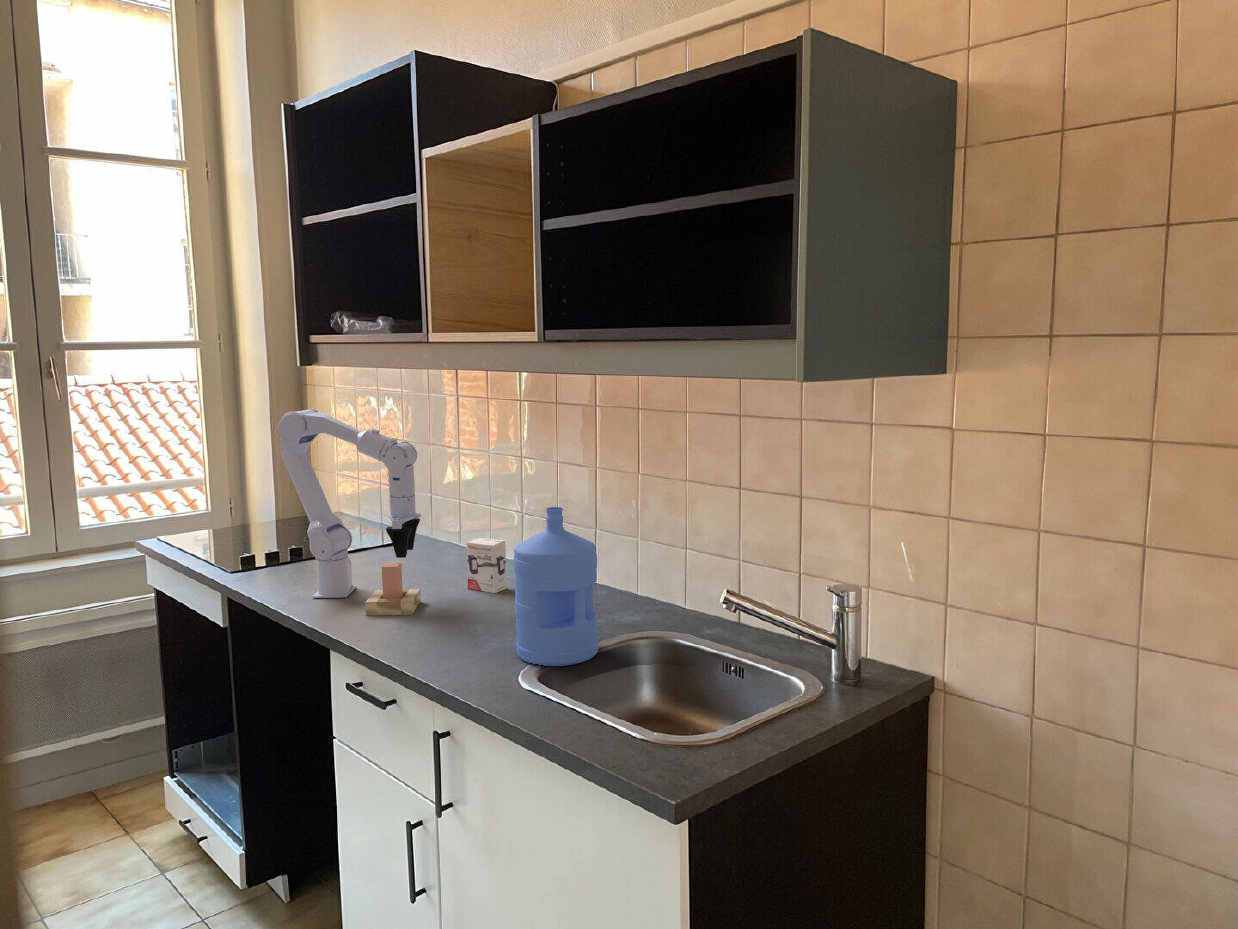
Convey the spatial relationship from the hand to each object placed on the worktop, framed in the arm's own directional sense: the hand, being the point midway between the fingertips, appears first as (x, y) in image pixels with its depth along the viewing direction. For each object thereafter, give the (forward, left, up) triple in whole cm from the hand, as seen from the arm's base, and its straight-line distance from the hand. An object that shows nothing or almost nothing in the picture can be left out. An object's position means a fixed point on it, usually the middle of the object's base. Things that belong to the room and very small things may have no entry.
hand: (404, 553), depth 215 cm
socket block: (+9, -1, -10) cm, 14 cm away
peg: (+9, -1, -10) cm, 14 cm away
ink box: (-6, +18, -11) cm, 22 cm away
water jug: (+41, +37, -11) cm, 56 cm away
